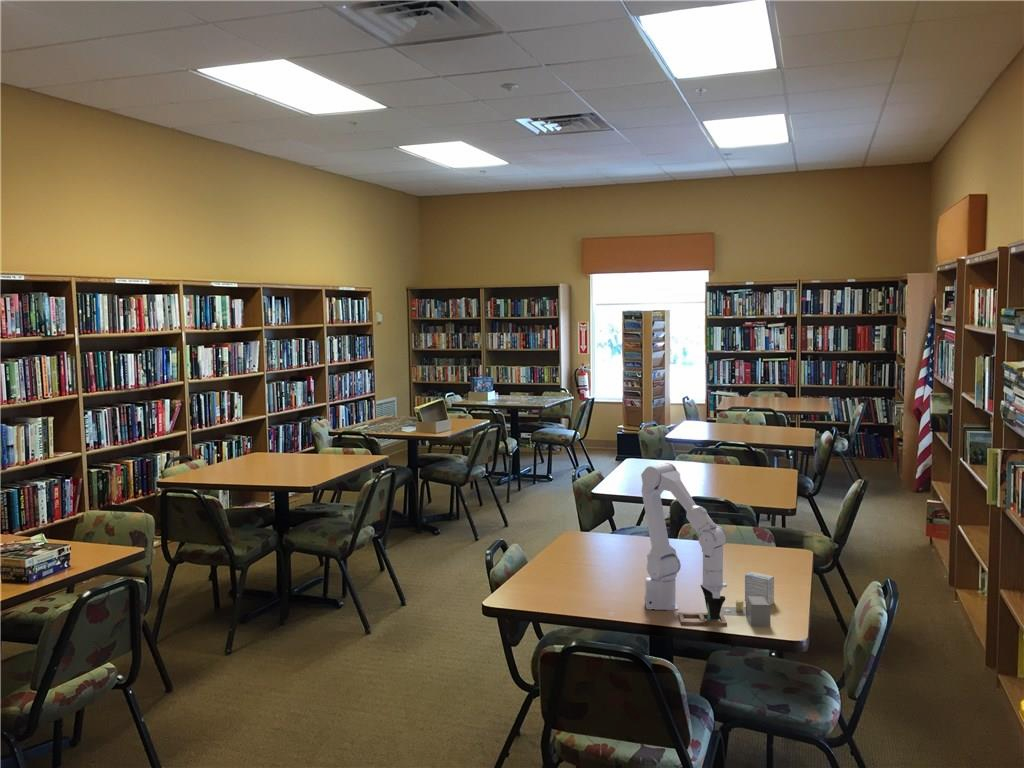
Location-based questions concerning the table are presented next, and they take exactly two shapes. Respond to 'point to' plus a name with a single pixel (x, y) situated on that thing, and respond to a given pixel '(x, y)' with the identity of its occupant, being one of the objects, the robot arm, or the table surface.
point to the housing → (758, 611)
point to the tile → (734, 609)
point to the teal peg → (709, 615)
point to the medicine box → (759, 586)
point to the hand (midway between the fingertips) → (712, 614)
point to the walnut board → (701, 619)
